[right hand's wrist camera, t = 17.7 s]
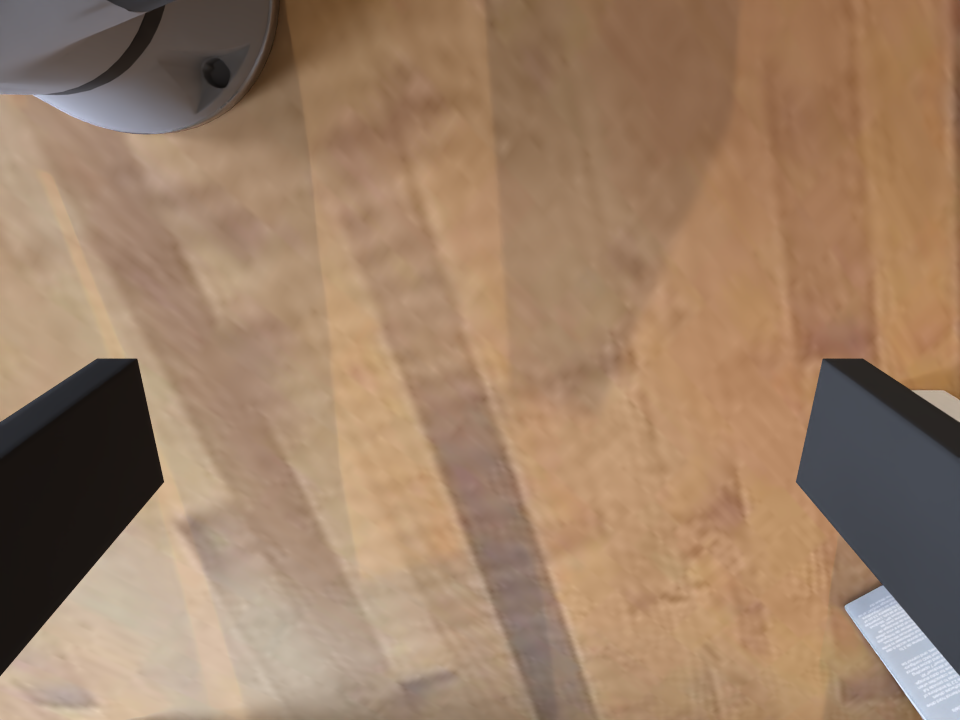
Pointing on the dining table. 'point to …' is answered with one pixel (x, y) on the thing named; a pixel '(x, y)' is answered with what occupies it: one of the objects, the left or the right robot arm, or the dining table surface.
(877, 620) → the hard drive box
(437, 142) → the dining table surface
